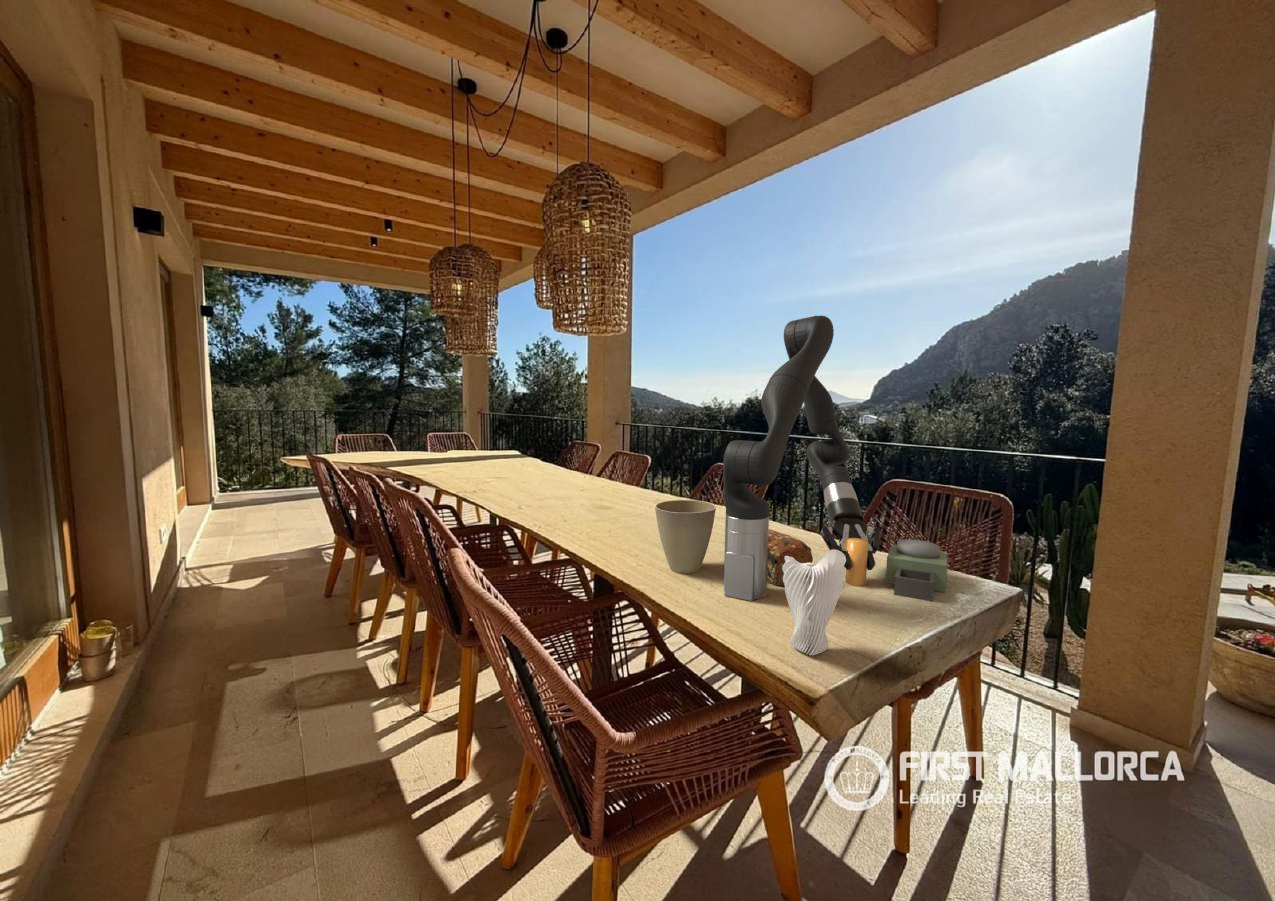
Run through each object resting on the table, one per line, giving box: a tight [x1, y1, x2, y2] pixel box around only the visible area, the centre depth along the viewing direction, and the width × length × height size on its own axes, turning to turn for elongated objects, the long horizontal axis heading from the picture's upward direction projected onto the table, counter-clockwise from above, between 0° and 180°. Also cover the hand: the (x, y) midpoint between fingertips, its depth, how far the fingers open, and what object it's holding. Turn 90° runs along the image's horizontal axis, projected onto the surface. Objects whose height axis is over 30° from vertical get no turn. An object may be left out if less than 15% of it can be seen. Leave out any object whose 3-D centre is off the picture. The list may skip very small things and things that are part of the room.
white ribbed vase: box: [782, 549, 846, 656], centre depth 88 cm, size 8×8×18 cm
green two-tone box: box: [885, 539, 948, 602], centre depth 120 cm, size 19×12×8 cm, turn 150°
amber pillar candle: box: [844, 538, 869, 587], centre depth 120 cm, size 4×4×10 cm
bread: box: [767, 528, 814, 586], centre depth 127 cm, size 19×11×10 cm, turn 17°
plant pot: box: [654, 499, 717, 574], centre depth 129 cm, size 15×15×16 cm
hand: (860, 568), depth 119 cm, fingers closed on amber pillar candle, 4 cm apart
